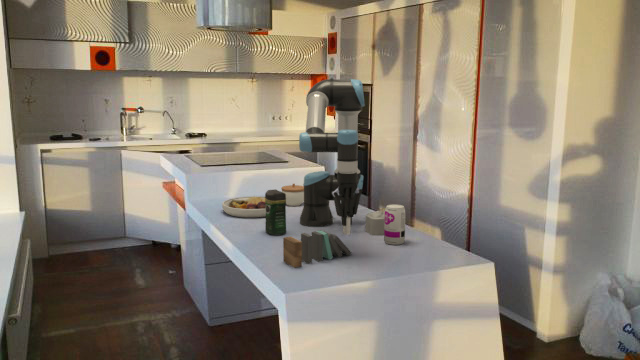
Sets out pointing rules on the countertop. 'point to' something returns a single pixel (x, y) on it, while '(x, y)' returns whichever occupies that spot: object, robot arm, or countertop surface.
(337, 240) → the domino
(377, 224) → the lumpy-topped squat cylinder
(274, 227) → the coffee jar
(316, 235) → the domino
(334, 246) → the domino
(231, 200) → the bowl
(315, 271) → the countertop surface
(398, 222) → the supplement can
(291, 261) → the end block
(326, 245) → the domino
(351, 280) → the countertop surface
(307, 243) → the domino
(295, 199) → the lidded bowl
